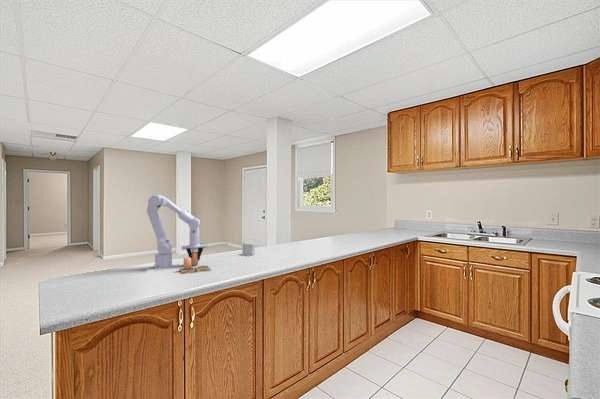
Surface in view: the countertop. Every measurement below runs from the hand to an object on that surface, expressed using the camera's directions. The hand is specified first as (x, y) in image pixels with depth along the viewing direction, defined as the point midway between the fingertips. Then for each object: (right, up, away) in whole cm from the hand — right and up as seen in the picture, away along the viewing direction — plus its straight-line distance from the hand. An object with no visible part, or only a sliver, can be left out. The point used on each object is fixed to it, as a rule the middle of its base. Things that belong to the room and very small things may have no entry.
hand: (194, 260), depth 172 cm
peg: (+1, -3, -12) cm, 12 cm away
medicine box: (+27, -4, +34) cm, 44 cm away
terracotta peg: (0, -2, 0) cm, 2 cm away
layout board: (+4, -4, -10) cm, 12 cm away
